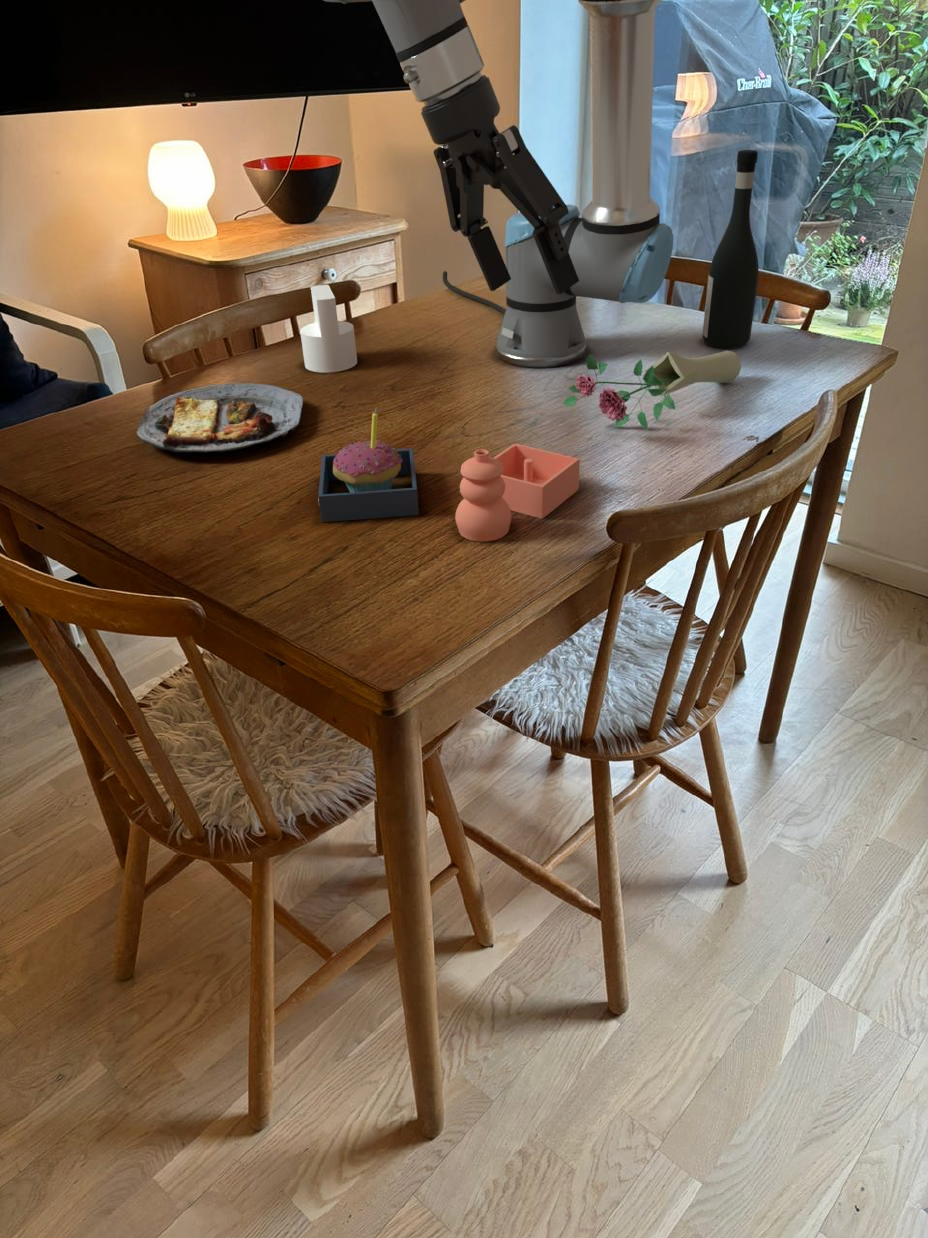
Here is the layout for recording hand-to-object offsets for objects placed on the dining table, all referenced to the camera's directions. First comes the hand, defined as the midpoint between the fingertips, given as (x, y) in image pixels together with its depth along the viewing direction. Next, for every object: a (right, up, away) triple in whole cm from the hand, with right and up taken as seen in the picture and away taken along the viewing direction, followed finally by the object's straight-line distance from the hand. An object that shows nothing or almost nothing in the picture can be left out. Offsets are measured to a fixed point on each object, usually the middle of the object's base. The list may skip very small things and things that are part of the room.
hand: (532, 286), depth 106 cm
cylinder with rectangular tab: (-30, +7, +57) cm, 65 cm away
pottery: (-2, -24, +10) cm, 26 cm away
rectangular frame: (-20, -22, +14) cm, 32 cm away
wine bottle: (+37, +10, +58) cm, 70 cm away
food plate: (-43, -9, +35) cm, 56 cm away
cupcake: (-20, -22, +14) cm, 33 cm away
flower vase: (+22, -7, +33) cm, 40 cm away
